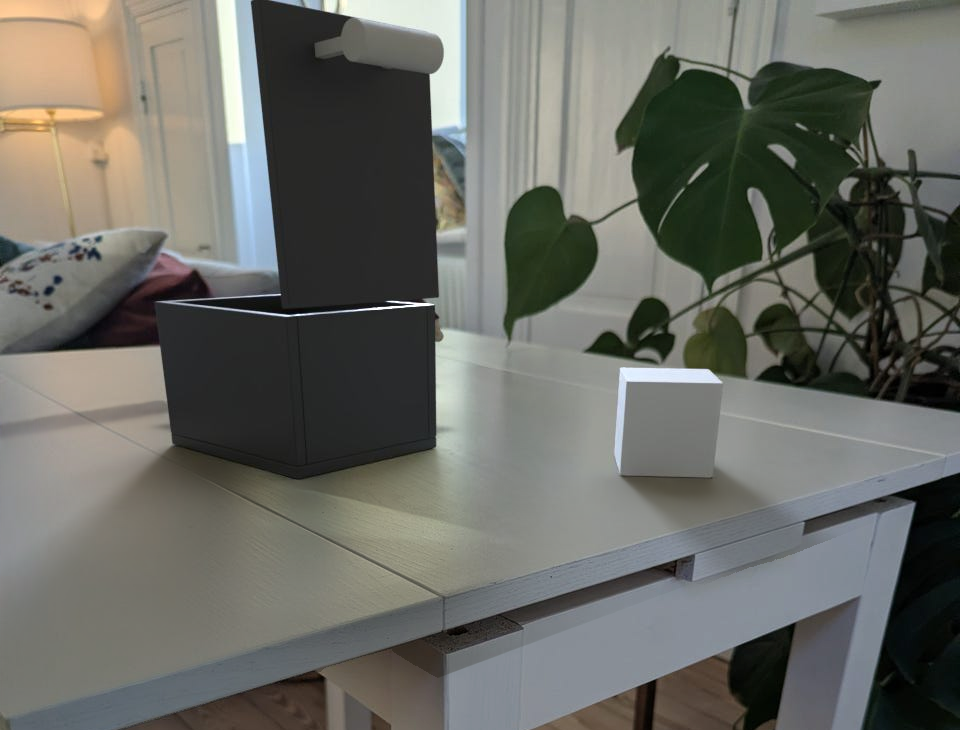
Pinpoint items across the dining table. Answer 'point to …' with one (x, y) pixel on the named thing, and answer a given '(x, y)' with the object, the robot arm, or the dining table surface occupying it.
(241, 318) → the open storage bin
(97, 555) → the dining table surface
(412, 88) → the storage bin lid
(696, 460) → the white cube
